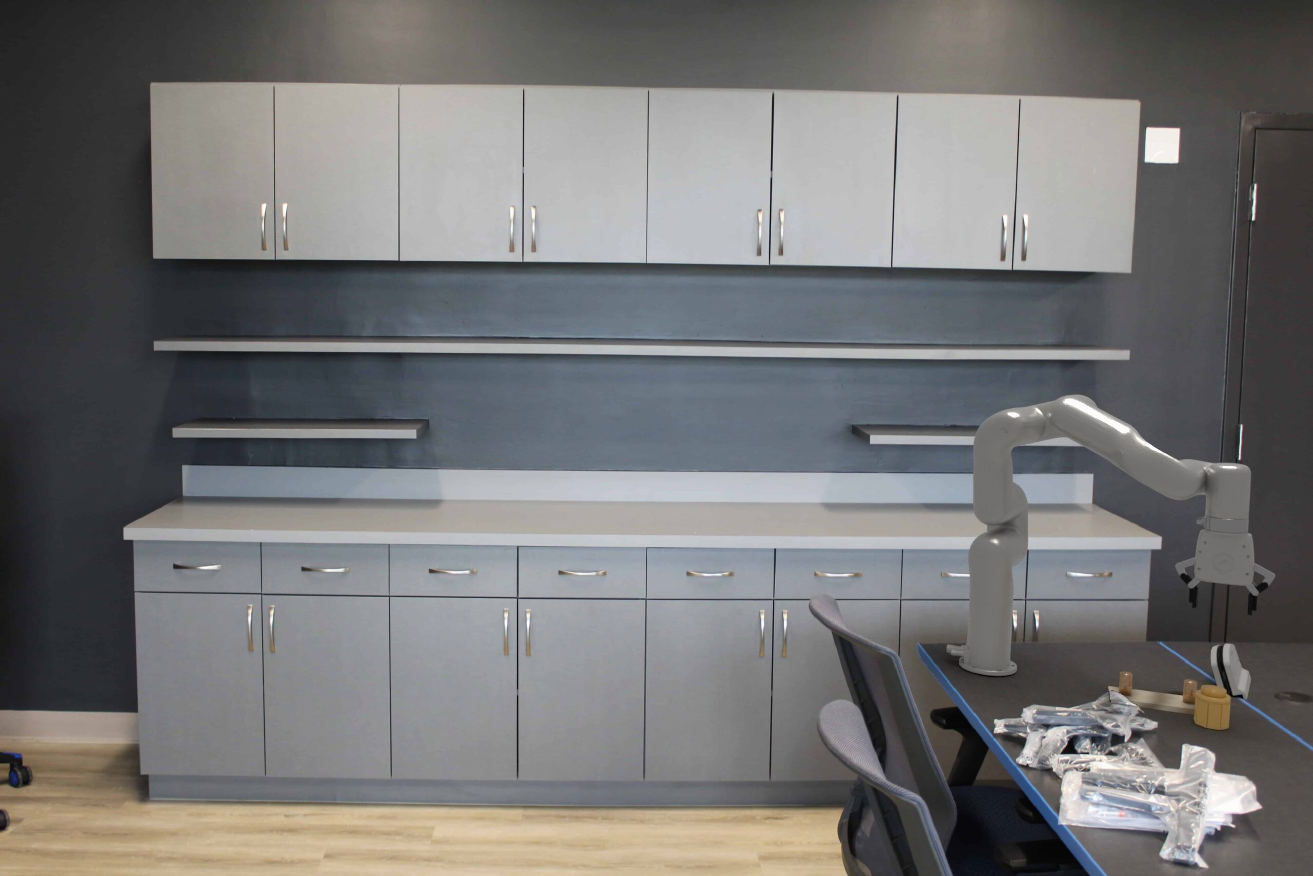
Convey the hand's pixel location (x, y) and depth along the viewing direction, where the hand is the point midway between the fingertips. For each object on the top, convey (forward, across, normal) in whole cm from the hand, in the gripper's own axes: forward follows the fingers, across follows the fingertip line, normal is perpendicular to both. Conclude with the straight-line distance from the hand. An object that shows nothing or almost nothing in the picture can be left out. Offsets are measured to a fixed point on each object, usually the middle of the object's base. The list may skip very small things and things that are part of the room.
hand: (1222, 610), depth 198 cm
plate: (+22, -11, +1) cm, 24 cm away
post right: (+21, -5, +3) cm, 22 cm away
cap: (+22, -1, -5) cm, 22 cm away
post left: (+20, -17, 0) cm, 27 cm away
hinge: (+22, 0, +23) cm, 32 cm away
